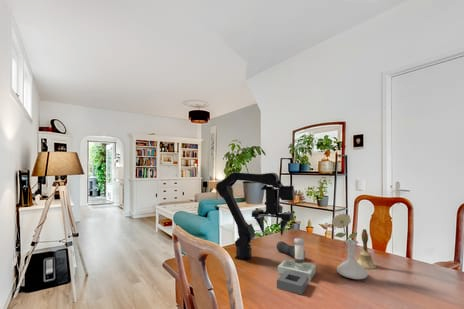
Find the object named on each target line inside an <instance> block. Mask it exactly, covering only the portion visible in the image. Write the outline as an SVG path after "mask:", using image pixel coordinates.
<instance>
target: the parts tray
mask: <svg viewBox="0 0 464 309" xmlns="http://www.w3.org/2000/svg"><path fill="white" fill-rule="evenodd" d="M316 268H317V264H315V263H311V262H310V263H309V262H304V271H302V270H297V269H295V259H289V258H285V259H284V260H283V261H282V262H280V263H279V265H277V275H280V276H281V275H282V274H283V272H284V271H288V272H293V273H297V274H301V275H305V276H308V283H309V282H311V281H312V279H313V277H314V276H315V274H316V273H317V272H316V271H317V269H316Z"/></svg>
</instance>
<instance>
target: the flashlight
mask: <svg viewBox="0 0 464 309" xmlns="http://www.w3.org/2000/svg"><path fill="white" fill-rule="evenodd" d="M275 248H276V249H277V251H278V252H280V253H284V254H287V255H289V257H290V256H291V257H292V258H294V259H295V245H291V244H288V243H286V242H285V241H278V242H277V244H276V247H275ZM305 258H306V250H305V249H304V259H305Z"/></svg>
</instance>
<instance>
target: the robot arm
mask: <svg viewBox="0 0 464 309" xmlns="http://www.w3.org/2000/svg"><path fill="white" fill-rule="evenodd" d="M238 181H244V182H255V183H260V184H263V186H262V187H261V189H260V190H262V191H265V202H264V205H265V211H264V209H254V210H252V211H251V217H252V218H253V219H254V220H256V222H257V224H258V226H259V228H260V230H261V232H262V233H264V232H265V217H268V218H269V217H270V218H279V219H280V223H279V224H280V226H279V227H280V236H283V234H284V231H285V229H286V225H287V224H288V223H289V222H291V221H293V220H294V214H293V212H288V211H287V212H286V211H284V212H283V210H284V208H283V206H282V205H281V204H280V201H279V199H280V200H281V201H285V202H286V201H287V202H288V201H290V202H291V201H292V202H295V199H296V193H295V188H294V186H295V185H284V184H283V183H282V182H281V181H280V177H279V175H278V174H277V173H276V172H268V173H267V172H266V173H252V172H251V173H249V172H239V171H233V172H231V173H230V174H229V175H228V176H227V177H225V178H223V180H221V181H218V182H217V184H216V186H215V190H216V192H217V193H218V195H219V196H220V197H221V198H222V199H223V200H224V202H225V204H226V206H227V207H228V209H229V211H230V213H231V215H232V216H231V217H232V218H233V220H234V222H235V224H236V226H237V227H236V228H237V234H238V238H237V240H235V241H234V245H235V248H236V253H235V255H236V256H234V258H235V259H237V260H241V261H245V262H247V261H248V260H250V259H251V258H252V257H253V254H252V250H253V249H252V248H251V247H252V246H251V243H252V241H253V240H254V239H255V238H256V233H255V232H256V230H255V228H254V226H253V224H252V223H250V224H249V223H248V222H247V221H246V219H245V217H244V216H243V213H242V211H241V208H240V207H239V205H238V203H237V201H236V199H235V197H234V191H233V186H234V185H235V184H236V183H237V182H238Z"/></svg>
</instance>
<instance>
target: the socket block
mask: <svg viewBox="0 0 464 309" xmlns="http://www.w3.org/2000/svg"><path fill="white" fill-rule="evenodd" d="M308 285H309V281H308V276H305V275H301V274H297V273H293V272H288V271H284V272H283V274H282V275H281V274H280V276H279V277H278V278H277V279H276V289H279V290H282V291H286V292H289V293H293V294H297V295H300V296H302V295H303V294H304V292H305V290H306V288H307V287H308Z"/></svg>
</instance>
